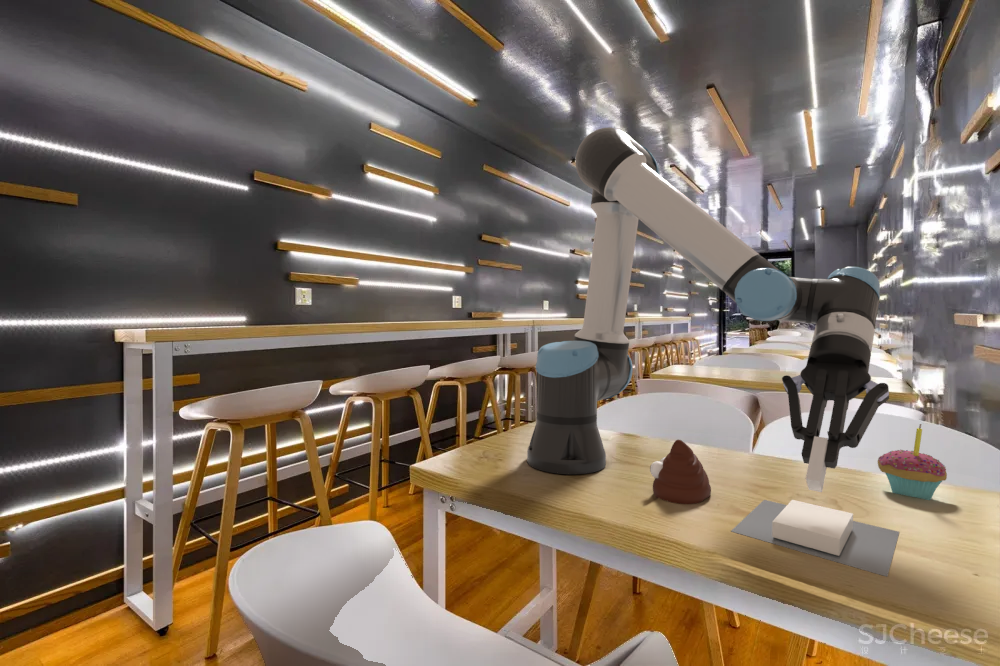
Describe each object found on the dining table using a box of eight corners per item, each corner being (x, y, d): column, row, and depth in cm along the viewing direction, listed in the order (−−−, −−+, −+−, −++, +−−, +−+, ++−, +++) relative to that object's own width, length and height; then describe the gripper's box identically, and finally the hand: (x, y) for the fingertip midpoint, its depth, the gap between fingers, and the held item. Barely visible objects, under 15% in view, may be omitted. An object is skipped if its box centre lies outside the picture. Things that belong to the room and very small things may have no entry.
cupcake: (960, 508, 73) (963, 428, 72) (895, 503, 74) (898, 425, 74) (923, 488, 81) (925, 416, 81) (865, 484, 83) (867, 414, 82)
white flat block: (791, 515, 68) (772, 538, 61) (792, 499, 68) (772, 521, 61) (852, 530, 64) (839, 557, 56) (853, 513, 64) (839, 538, 56)
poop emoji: (694, 513, 71) (695, 450, 70) (640, 498, 76) (641, 439, 76) (719, 495, 78) (720, 437, 77) (668, 482, 84) (669, 429, 83)
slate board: (730, 535, 63) (730, 531, 63) (764, 503, 74) (764, 499, 74) (887, 581, 52) (887, 576, 52) (899, 536, 63) (899, 531, 63)
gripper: (787, 330, 76) (752, 458, 64) (894, 332, 67) (876, 482, 55) (794, 362, 80) (763, 488, 68) (896, 368, 71) (880, 514, 59)
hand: (813, 485), depth 62 cm, fingers closed
